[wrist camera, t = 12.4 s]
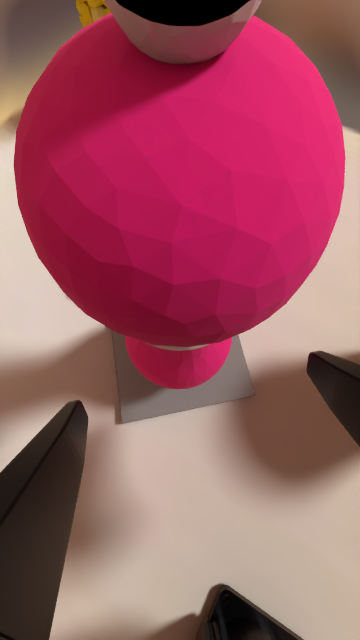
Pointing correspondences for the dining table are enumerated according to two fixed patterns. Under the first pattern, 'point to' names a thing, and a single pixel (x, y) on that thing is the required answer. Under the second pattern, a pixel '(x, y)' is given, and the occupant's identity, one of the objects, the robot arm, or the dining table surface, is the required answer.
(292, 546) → the dining table surface
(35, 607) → the robot arm
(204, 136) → the pepper mill
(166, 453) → the dining table surface
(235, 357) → the rubber mat
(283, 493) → the dining table surface
